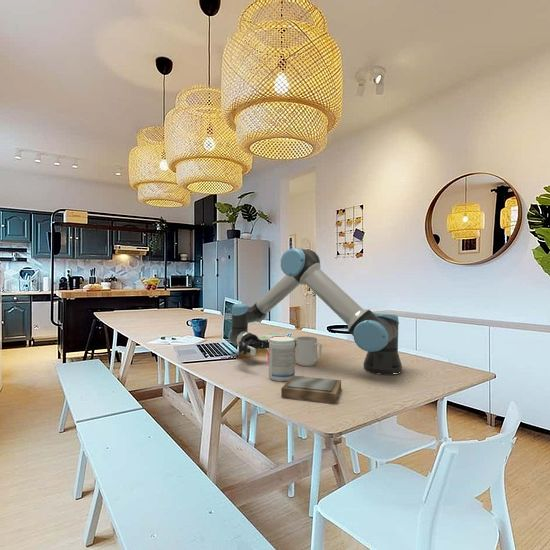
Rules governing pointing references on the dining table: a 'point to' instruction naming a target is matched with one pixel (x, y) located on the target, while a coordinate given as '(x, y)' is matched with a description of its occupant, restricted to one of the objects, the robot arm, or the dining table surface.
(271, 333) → the towel
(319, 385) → the dock
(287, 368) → the supplement tub
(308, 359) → the mug
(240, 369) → the dining table surface
